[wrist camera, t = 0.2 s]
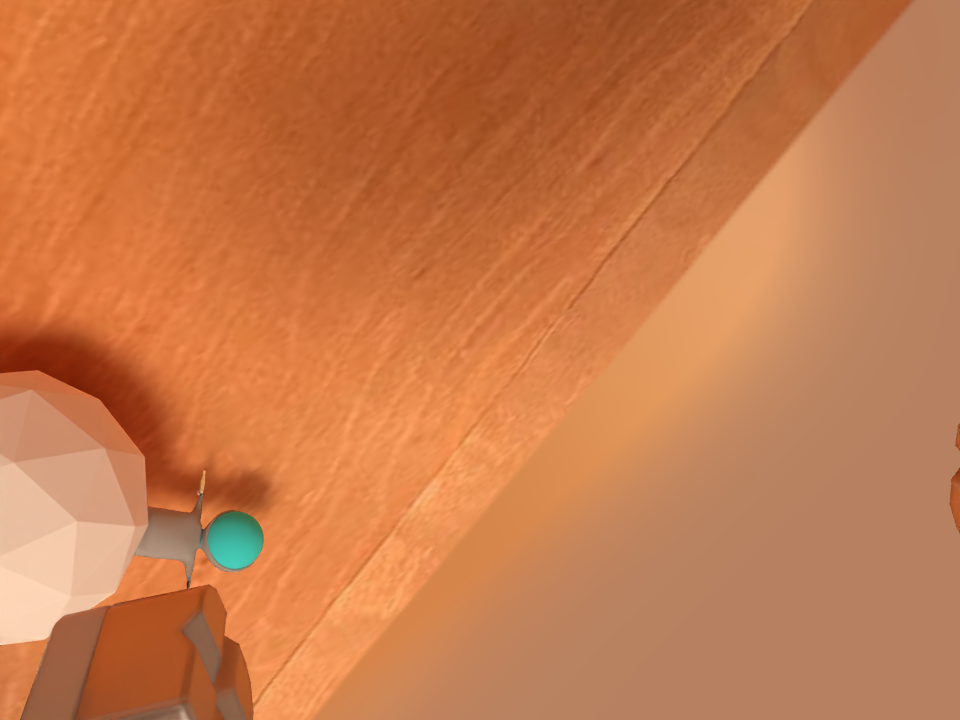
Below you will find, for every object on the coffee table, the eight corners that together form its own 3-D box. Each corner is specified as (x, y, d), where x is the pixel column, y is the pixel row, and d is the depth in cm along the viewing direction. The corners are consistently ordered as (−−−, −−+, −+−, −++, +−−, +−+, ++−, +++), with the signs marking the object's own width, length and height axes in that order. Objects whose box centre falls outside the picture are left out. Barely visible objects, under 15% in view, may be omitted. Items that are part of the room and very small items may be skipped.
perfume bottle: (-125, 294, 24) (317, 387, 29) (-112, 407, 30) (247, 467, 35) (-232, 597, 20) (293, 644, 25) (-191, 651, 27) (220, 680, 32)
